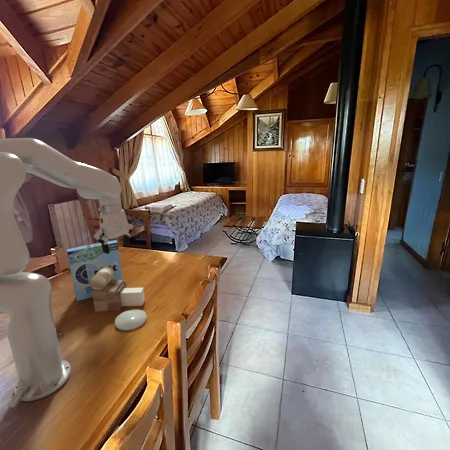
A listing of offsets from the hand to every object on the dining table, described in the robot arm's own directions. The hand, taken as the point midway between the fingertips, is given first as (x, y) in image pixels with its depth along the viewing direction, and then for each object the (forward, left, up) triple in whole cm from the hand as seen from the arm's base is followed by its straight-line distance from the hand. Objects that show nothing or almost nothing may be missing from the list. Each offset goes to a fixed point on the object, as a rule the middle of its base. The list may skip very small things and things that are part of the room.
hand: (117, 249), depth 104 cm
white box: (-5, -4, -23) cm, 23 cm away
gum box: (+5, +12, -23) cm, 26 cm away
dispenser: (-5, +4, -22) cm, 23 cm away
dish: (-17, -8, -23) cm, 29 cm away
